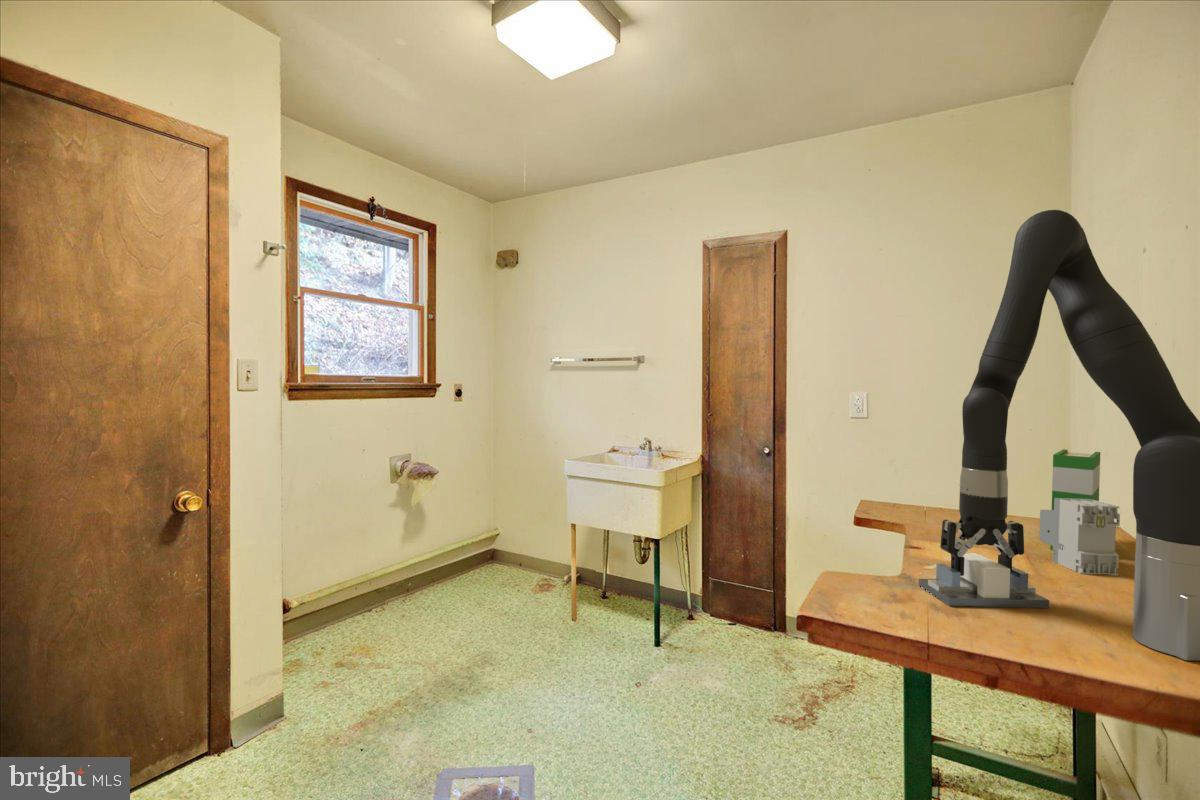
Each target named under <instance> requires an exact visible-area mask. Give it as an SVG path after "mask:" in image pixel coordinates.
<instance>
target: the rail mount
mask: <svg viewBox="0 0 1200 800" xmlns="http://www.w3.org/2000/svg"><path fill="white" fill-rule="evenodd" d="M935 569H936V570H935V574H936V575H935V578H918V586H919V585H920V586H921V587H923V588H924V589H926V590H927V591H929V592H930V593H932V594H933V595H934V596H936V597H937V598H939V599H940V600H941V601H940V600H939V599H938V600H939V601H940V602H942V603H943V602H944V603H943V604H945V605H946V604H947V605H946V606H948V607H960V606H973V607H972V608H1008V609H1009V608H1013V609H1014V608H1016V609H1017V608H1018V609H1020V608H1021V609H1024V608H1025V609H1050V600H1049V599H1047V598H1046V597H1044V596H1041V595H1039V594H1037V592H1036V590H1037V589H1036V587H1034V586H1032V585H1031V584H1029V572H1025V571H1023V570H1021V569H1019V568H1016V567H1015V566H1013V565H1012V572H1011V574H1010V592H1009V598H984V597H982V596H980V595H979V594H977V585H975V584H973V583H971V582H970V581H968V580H960V573H961V572H959V571H957V570H955V569H953V568H951V565H950V566H949V564H946V563H936V568H935ZM921 587H920V588H921ZM924 589H923V590H924ZM927 591H926V592H927ZM930 593H929V594H930ZM933 595H932V596H933ZM934 596H933V597H934ZM936 597H935V598H936ZM937 598H936V599H937Z"/></svg>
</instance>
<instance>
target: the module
mask: <svg viewBox="0 0 1200 800" xmlns="http://www.w3.org/2000/svg"><path fill="white" fill-rule="evenodd" d="M962 557H964V575H963V576H960V580H968V581H970V582H971V583H973V584H975V585H977V594H979V595H980V596H982V597H984V598H1009V592H1010V569H1009V568H1007V567H1005V566H1003V565H1001V564H999V563H998V562H996V561H994V560H992V559H990V558H987V557H985V556H984V555H981V554H979V553H974V552H973V553H971V552H969V553H967V552H966V553H965V554H964V555H963V556H962Z"/></svg>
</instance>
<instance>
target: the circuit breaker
mask: <svg viewBox="0 0 1200 800" xmlns="http://www.w3.org/2000/svg"><path fill="white" fill-rule="evenodd" d="M1118 509H1120V505H1117V506H1116V505H1114V504H1111V503H1107V502H1103V501H1100V500H1099V501H1096V500H1092V499H1072V498H1054V510H1052V509H1039V535H1038V536H1039V537H1038V539H1039V541H1040V542H1042V543H1044V544H1048V545H1050V546H1051V545H1052V546H1053V553H1052V563H1054V562H1055V564H1056V563H1058V564H1057V565H1059V564H1060V565H1059V566H1061V565H1063V566H1065V567H1064V568H1066V567H1067V568H1066V569H1068V568H1069V569H1068V570H1070V569H1072V570H1074V571H1073V572H1075V571H1078V572H1077V573H1078V574H1079V573H1080V574H1079V575H1093V574H1109V575H1108V576H1119V573H1117V569H1119V553H1117V552H1116V537H1117V536H1116V534H1117V533H1116V531H1117V528H1116V527H1120V525H1121V524H1120V523H1121V522H1120V520H1121V514H1120V513H1118ZM1115 520H1116V521H1115ZM1063 566H1062V567H1063ZM1072 570H1071V571H1072ZM1110 574H1111V575H1110Z"/></svg>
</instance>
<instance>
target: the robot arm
mask: <svg viewBox="0 0 1200 800" xmlns="http://www.w3.org/2000/svg"><path fill="white" fill-rule="evenodd" d="M1048 291H1049V292H1050V295H1052V297H1053V299H1054V302H1055V304H1056V306H1057V310H1058V313H1059V315H1060V319H1061V323H1062V326H1063V328H1064V331H1065V334H1066V337H1067V338H1068V341H1069V343H1070V345H1071V347H1072V349H1073V351H1074V352H1075V355H1076V356H1077V358H1078V360H1079V361H1080V364H1081V365H1082V367H1083V369H1084V371H1086V373H1087V374H1088V376H1089V377H1090V379H1092V380H1093V382H1094V383H1095V384H1096V386H1098V387H1099V389H1100V390H1101V391H1102V392H1103V393H1104V394H1105V395H1106V396H1107V397H1108V398H1109V399H1110V400H1111V401H1112V403H1113V404H1115V406H1116V407H1117V408H1118V410H1120V412H1121V413H1122V414H1123V415H1124V417H1125V418H1126V420H1127V421H1128V423H1129V426H1130V427H1131V429H1132V430H1133V432H1134V434H1135V436H1136V439H1137V441H1138V444H1139V446H1140V448H1139V450H1138V451H1137V452H1136V455H1135V457H1134V461H1133V462H1134V463H1133V468H1132V469H1133V470H1132V471H1133V474H1132V475H1133V476H1132V479H1133V480H1132V489H1133V490H1132V510H1133V514H1134V516H1133V517H1134V518H1135V522H1136V523H1135V525H1136V527H1135V528H1136V529H1135V551H1134V552H1135V553H1134V554H1135V556H1134V578H1133V579H1134V580H1133V581H1134V584H1133V589H1134V590H1133V609H1132V610H1133V612H1132V613H1133V615H1132V638H1133V639H1134V640H1135V641H1136V642H1138V643H1140V645H1144V646H1145V647H1147V648H1150V649H1152V650H1155V651H1158V652H1161V653H1164V654H1167V655H1170V656H1175V657H1177V658H1179V659H1182V660H1185V661H1200V420H1199V419H1198V418H1197V416H1196V415H1195V414H1194V413H1193V411H1192V410H1191V409H1190V407H1189V406H1188V404H1187V403H1186V401H1185V400H1184V398H1183V397H1182V395H1181V393H1180V391H1179V389H1178V387H1177V384H1176V382H1175V380H1174V378H1173V376H1172V373H1171V372H1170V370H1169V368H1168V366H1167V364H1166V362H1165V360H1164V359H1163V357H1162V355H1161V353H1160V351H1159V350H1158V347H1157V346H1156V344H1155V342H1154V340H1153V338H1152V337H1151V335H1150V334H1149V332H1148V330H1147V329H1146V328H1145V326H1144V324H1143V322H1142V321H1141V320H1140V319H1139V317H1138V316H1137V315H1136V313H1135V312H1134V310H1133V309H1132V307H1131V306H1130V305H1129V304H1128V303H1127V301H1125V299H1124V298H1123V297H1122V295H1120V294H1119V293H1118V292H1117V290H1115V288H1114V287H1112V285H1111V284H1110V283H1109V282H1108V281H1107V279H1106V278H1105V276H1104V274H1103V273H1102V270H1101V269H1100V267H1099V265H1098V262H1097V260H1096V258H1095V256H1094V254H1093V251H1092V249H1091V247H1090V244H1089V241H1088V238H1087V235H1086V233H1085V230H1084V228H1083V227H1082V225H1081V223H1079V221H1078V219H1076V218H1075V217H1074V216H1073V215H1072V214H1070V213H1068V212H1067V211H1064V210H1060V209H1048V210H1043V211H1040V212H1037V213H1036V214H1033V215H1032V216H1030V217H1029V218H1028V219H1026V220H1025V221H1024V222H1023V223H1022V224H1021V225H1020V227H1019V229H1018V230H1017V232H1016V234H1015V238H1014V243H1013V249H1012V256H1011V260H1010V267H1009V273H1008V276H1007V280H1006V284H1005V288H1004V292H1003V296H1002V298H1001V302H1000V304H999V308H998V310H997V314H996V316H995V319H994V321H993V324H992V326H991V330H990V331H989V334H988V338H987V340H986V343H985V345H984V347H983V351H982V353H981V355H980V360H979V362H978V370H977V372H976V376H975V378H974V380H973V383H972V385H971V388H970V389H969V392H968V394H967V395H966V396H965V398H964V399H963V402H962V410H961V411H962V433H963V434H962V435H963V443H962V450H961V453H962V454H961V473H960V477H959V500H958V502H959V506H958V507H959V508H958V509H959V510H958V511H959V515H960V516H959V517H960V518H959V520H958V521H951V520H948V519H943V520H942V523H941V524H942V525H941V537H940V549H941V550H942V551H944V552H947V553H948V554H950V567H951V568H953V569H955V570H957V571H959V572H961V573H960V576H963V575H964V557H962V556H963V555H964V554H965V553H967V552H968V551H969V550H971V549H972V548H974V547H975V545H976V546H983V545H986V546H994V548H995V549H996V550H997V552H999V554H997V563H999V564H1001V565H1003V566H1005V567H1007V568H1009V569H1010V574H1011V572H1012V566H1013V558H1014V557H1015V556H1017V555H1020V556H1022V555H1024V554H1025V539H1024V538H1025V536H1024V535H1025V533H1024V524H1022V523H1020V522H1017V521H1013V520H1009V521H1008V522H1006V519H1007V518H1008V503H1009V502H1008V500H1009V497H1008V496H1009V495H1008V494H1009V493H1008V492H1009V480H1008V471H1007V470H1008V467H1007V466H1008V447H1007V443H1006V440H1007V439H1006V437H1007V432H1008V431H1007V428H1008V416H1009V409H1010V407H1011V402H1012V399H1013V397H1014V394H1015V390H1016V387H1017V385H1018V381H1019V379H1020V377H1021V375H1022V374H1023V372H1024V370H1025V368H1026V365H1027V363H1028V361H1029V358H1030V355H1031V353H1032V350H1033V349H1034V345H1035V342H1036V341H1037V340H1036V339H1037V336H1038V331H1039V328H1040V323H1041V317H1042V313H1043V307H1044V305H1045V304H1044V303H1045V299H1046V298H1047V297H1046V296H1047V293H1048ZM959 530H960V532H959ZM1006 532H1007V539H1008V540H1006V538H1004V536H1003V535H1004V534H1005V533H1006ZM957 533H959V534H958V535H957ZM956 536H957V537H956Z"/></svg>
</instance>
